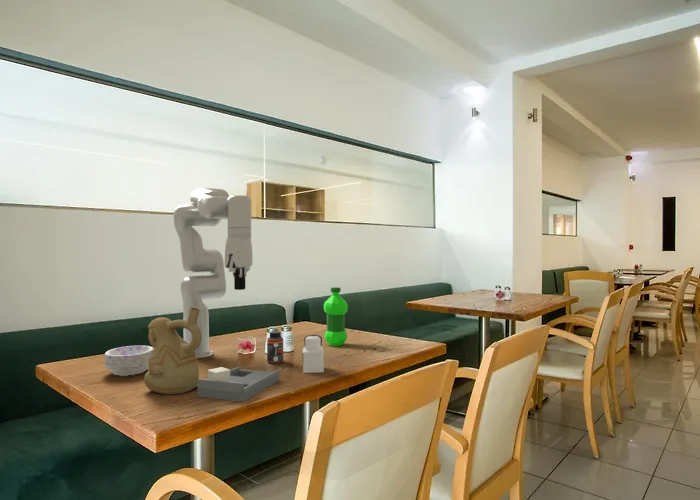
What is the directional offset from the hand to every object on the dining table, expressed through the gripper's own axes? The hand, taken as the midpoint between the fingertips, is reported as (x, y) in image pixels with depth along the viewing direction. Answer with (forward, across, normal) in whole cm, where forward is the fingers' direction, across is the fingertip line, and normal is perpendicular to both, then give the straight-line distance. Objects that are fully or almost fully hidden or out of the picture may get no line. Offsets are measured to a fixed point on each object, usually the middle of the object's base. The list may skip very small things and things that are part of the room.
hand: (239, 289), depth 151 cm
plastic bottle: (+29, -57, +12) cm, 65 cm away
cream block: (+27, +16, +3) cm, 31 cm away
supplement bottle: (+29, -22, +1) cm, 37 cm away
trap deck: (+29, +10, +6) cm, 31 cm away
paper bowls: (+29, +6, -40) cm, 50 cm away
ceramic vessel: (+29, +16, -13) cm, 36 cm away
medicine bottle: (+29, -16, +19) cm, 38 cm away
